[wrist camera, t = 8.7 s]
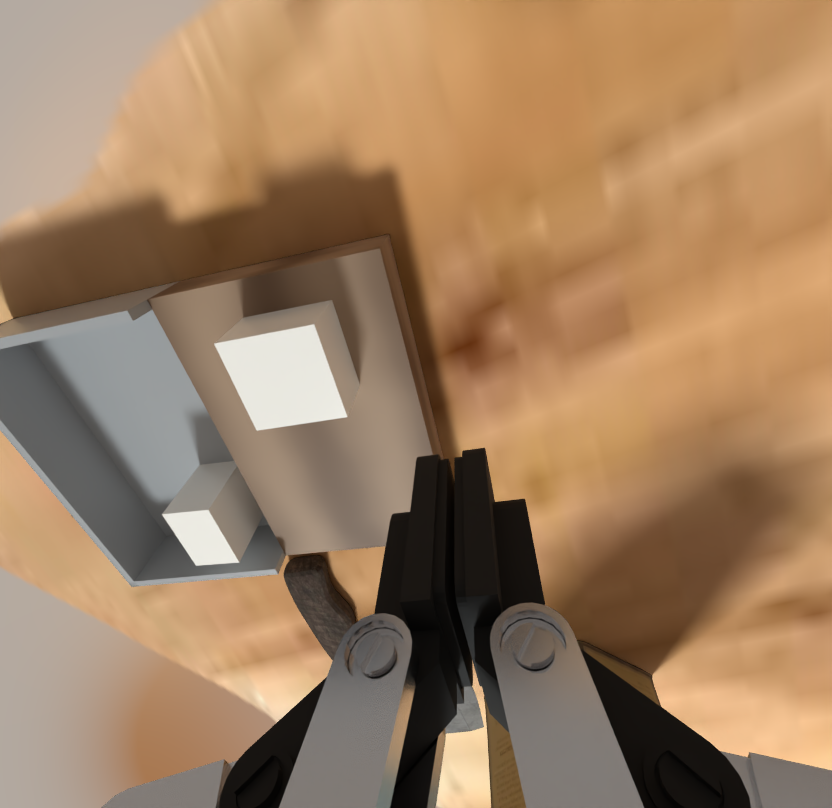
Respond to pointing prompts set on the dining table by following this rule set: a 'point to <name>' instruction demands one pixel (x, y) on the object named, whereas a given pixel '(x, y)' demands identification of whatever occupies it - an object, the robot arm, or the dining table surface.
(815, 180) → the dining table surface
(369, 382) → the board
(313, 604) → the cleaver
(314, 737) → the robot arm
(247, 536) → the tile
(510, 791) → the food packaging
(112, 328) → the tray
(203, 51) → the dining table surface
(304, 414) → the white rectangular block
